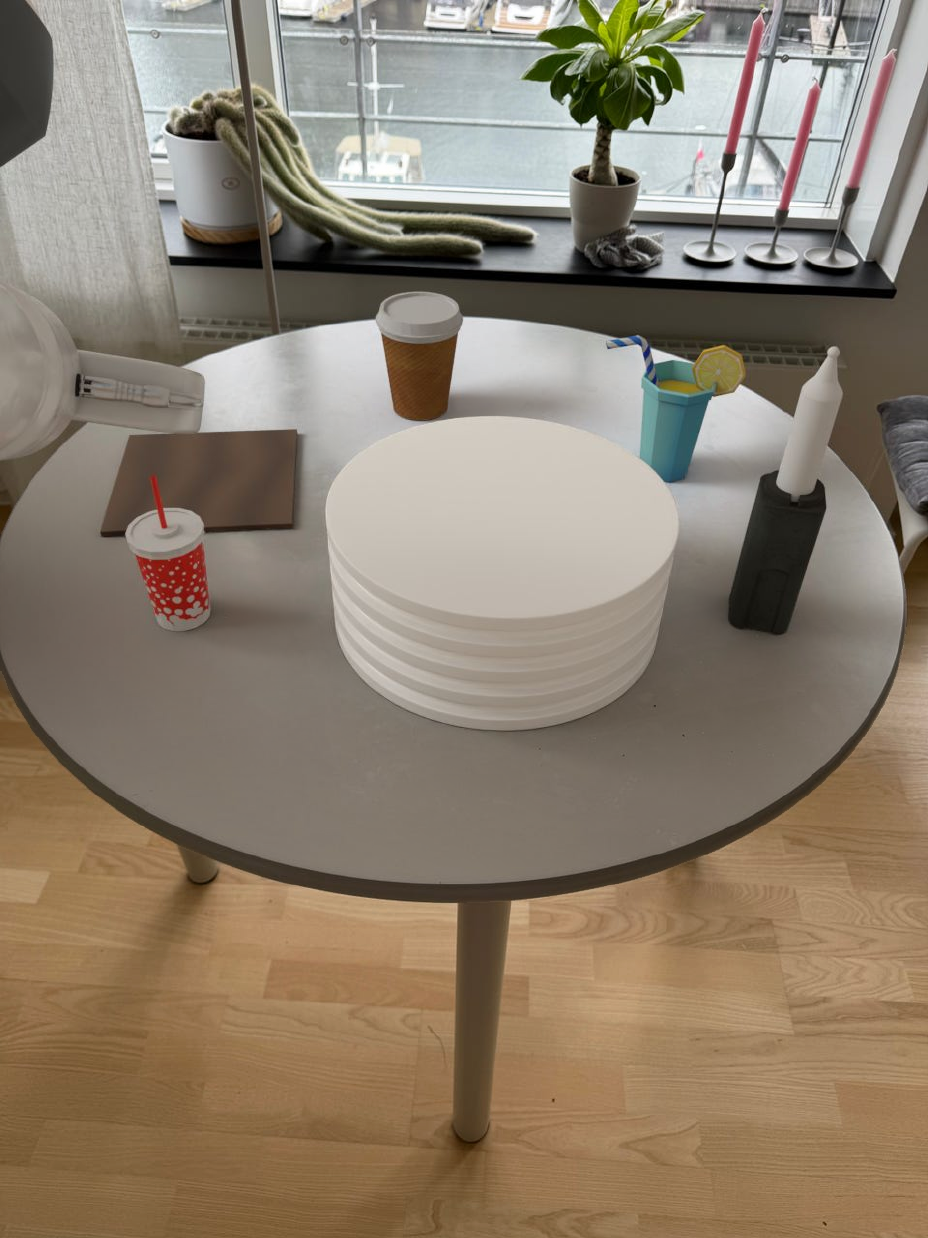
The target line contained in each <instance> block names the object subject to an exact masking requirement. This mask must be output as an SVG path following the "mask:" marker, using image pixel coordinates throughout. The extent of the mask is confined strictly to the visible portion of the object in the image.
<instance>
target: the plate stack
mask: <svg viewBox="0 0 928 1238" xmlns="http://www.w3.org/2000/svg"><path fill="white" fill-rule="evenodd" d="M677 505H678V504H677V503H676V499H675V498H674V495H673V493H672V491H671V490H670V489H669V487H668V485H667V484H666V482H664V481H663V480H662V479H661V477H660V476H659V475H658V474H657V473H656V472H655V471H654V470H653V469H652V468H651V467H650V466H649V465H648V464H646V463H645V462H644V461H643V460H641V459H640V456H637V455H636V454H634V453H633V452H631V451H630V450H629V449H626V448H624V447H623V446H621V445H619V444H617V443H615V442H613V441H611V440H609V439H608V438H605V437H602V436H600V435H597V434H595V433H592V432H589V431H587V430H584V429H580V428H578V427H573V426H571V425H567V424H562V423H558V422H553V421H548V420H543V419H536V418H529V417H518V416H503V415H482V416H481V415H480V416H465V417H464V416H463V417H455V418H448V419H441V420H436V421H431V422H428V423H423V424H420V425H416V426H411V427H409V428H406V429H403V430H400V431H398V432H395V433H393V434H391V435H388V436H386V437H384V438H382V439H380V440H377V441H376V442H374V443H372V444H371V445H369V446H368V447H366V448H364V449H363V450H361V451H360V452H359V453H358V454H356V455H355V456H354V457H353V458H352V459H351V460H349V461H348V462H347V463H346V464H345V466H343V468H342V469H341V470H340V471H339V472H338V474H337V475H336V477H335V479H334V480H333V482H332V484H331V486H330V488H329V491H328V494H327V497H326V501H325V511H324V512H325V514H324V515H325V523H326V524H325V525H326V533H327V534H326V535H327V549H328V558H329V571H330V572H329V573H330V580H331V594H332V603H333V609H334V610H333V614H334V615H333V616H334V627H335V634H336V638H337V641H338V644H339V647H340V649H341V651H342V654H343V655H344V657H345V659H346V660H347V662H348V664H349V666H351V668H352V670H354V672H355V673H356V674H357V675H358V676H359V677H360V678H361V680H362V681H363V682H364V683H366V684H367V685H368V686H369V687H370V688H372V690H374V691H375V692H377V694H379V695H381V696H382V697H383V698H385V699H387V700H388V701H389V702H391V703H393V704H394V705H396V706H398V707H400V708H401V709H404V710H406V711H408V712H410V713H413V714H415V715H418V716H420V717H424V718H426V719H428V720H432V721H435V722H437V723H441V724H446V725H450V726H456V727H459V728H466V729H473V730H481V731H482V730H483V731H497V732H498V731H503V732H507V731H526V730H534V729H542V728H549V727H554V726H557V725H561V724H564V723H565V724H566V723H568V722H572V721H575V720H578V719H580V718H583V717H586V716H587V715H591V714H592V713H595V712H597V711H600V710H601V709H603V708H605V707H606V706H608V705H610V704H611V703H613V702H615V701H616V700H617V699H618V698H620V697H621V696H623V695H624V694H626V693H627V691H629V690H630V689H631V688H632V687H633V686H634V685H635V684H636V683H637V681H638V680H639V679H640V678H641V677H642V675H643V674H644V673H645V671H646V670H647V668H648V666H649V665H650V663H651V660H652V658H653V655H654V653H655V650H656V646H657V642H658V638H659V633H660V626H661V622H662V618H663V613H664V607H665V606H664V605H665V603H666V598H667V593H668V588H669V584H670V583H669V582H670V578H671V573H672V570H673V569H672V568H673V564H674V557H675V553H676V549H677V544H678V539H679V535H680V527H681V526H680V514H679V509H678V506H677Z"/></svg>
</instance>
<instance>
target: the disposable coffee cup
mask: <svg viewBox="0 0 928 1238" xmlns="http://www.w3.org/2000/svg"><path fill="white" fill-rule="evenodd" d="M378 309H379V310H378V312H377V313H376V315H375V324H376V326H377V327H378V331H379V332H380V335H381V341H382V347H383V353H384V360H385V366H386V372H387V377H388V383H389V389H390V395H391V396H390V397H391V401H392V408H393V411H394V413H396V414H397V415H398V416H400V417H402V418H404V419H407V420H412V421H430V420H434V419H436V418H439V417H441V416H443V415H444V414H445V413H446V412H447V410H448V407H449V406H448V405H449V398H450V393H451V392H450V391H451V384H452V379H453V373H454V372H453V370H454V364H455V358H456V351H457V344H458V337H459V336H458V335H459V332H460V330H461V327H462V326H463V323H464V316H463V314H462V313H461V312H460V306H459V304H458V302H457V301H456V300H455V299H453V298H451V297H449V296H448V295H444V294H442V293H437V292H431V291H407V292H400V293H396V294H393V295H390V296H389V297H387V298H385V299H384V300H383V301H381V303H380V305H379V308H378Z"/></svg>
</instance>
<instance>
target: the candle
mask: <svg viewBox="0 0 928 1238" xmlns="http://www.w3.org/2000/svg"><path fill="white" fill-rule="evenodd" d="M840 354H841V351H840V349H839V347H838V346H834V345H833V346H831V347H830V348H828V350H827V356H826V358H825V359H824V361H823V362H822V364H821V366H820V367H819V369H818V370H817V371H816V373H815V374H814V376H812V377H811V378H810V379H808V380H807V381H806V382H805V383H804V384H803V385H802V386H801V390H800V394H799V398H798V400H797V401H798V402H797V404H796V408H795V413H794V416H793V418H792V423H791V426H790V430H789V434H788V438H787V441H786V445H785V448H784V451H783V455H782V459H781V463H780V467H779V469H777V470H774V471H772V472H767V473H764V474H762V475H761V476H760V478H759V482H758V485H757V488H756V489H757V490H756V493H755V497H754V501H753V505H752V509H751V511H750V516H749V518H748V519H749V520H748V523H747V527H746V530H745V534H744V539H743V542H742V547H741V550H740V554H739V558H738V562H737V565H736V568H735V573H734V578H733V580H732V584H731V588H730V592H729V596H728V608H727V620H728V622H729V624H730V625H731V626H732V627H734V628H736V629H739V630H744V629H748V630H753V631H760V632H766V633H771V634H772V635H778V634H779V635H783V634H784V633H787V631H788V629H789V626H790V623H791V619H792V617H793V613H794V611H795V607H796V604H797V601H798V598H799V596H800V592H801V588H802V586H803V582H804V579H805V576H806V573H807V570H808V568H809V564H810V561H811V558H812V555H813V551H814V549H815V546H816V542H817V539H818V536H819V533H820V530H821V527H822V524H823V520H824V517H825V514H826V511H827V507H828V506H827V498H826V487H825V485H824V483H823V482H822V481H821V480H820V479H819V475H820V471H821V467H822V464H823V461H824V457H825V455H826V451H827V447H828V445H829V441H830V438H831V435H832V433H833V428H834V425H835V422H836V419H837V416H838V412H839V409H840V405H841V403H842V399H843V394H844V392H843V389H842V387H841V384H840V382H839V380H838V379H839V378H838V377H839V376H838V357H839V356H840Z"/></svg>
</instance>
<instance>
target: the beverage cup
mask: <svg viewBox="0 0 928 1238" xmlns="http://www.w3.org/2000/svg"><path fill="white" fill-rule="evenodd" d="M150 480H151V484H152V489H153V493H154V497H155V502H156V506H157V510H153V511H149V512H147V513H145V514H143V515H141V516H139V517H137V518H136V519H135V520H134V521H132V522H131V523H130V524H129V525H128V528H127V530H126V533H125V535H124V536H125V538H126V541H127V544H128V547H129V550H130V551H131V552H132V553H133V554H134V555H135V558H136V562H137V565H138V567H139V571H140V574H141V576H142V579H143V582H144V585H145V588H146V591H147V594H148V597H149V600H150V604H151V606H152V609H153V613H154V615H155V618H156V621H157V624H158V625H159V626H160V627H162V628H163V629H164V630H167V631H172V632H186V631H190V630H193V629H197V628H198V627H200V626H202V625H203V624H205V622H207V620H208V618H210V617H211V616H210V615H211V611H212V609H211V598H210V592H209V582H208V573H207V566H206V565H207V564H206V556H205V549H204V538H205V534H206V532H204V524H203V522H202V520H201V517H200V516H198V515H197V514H195V513H194V512H192V511H190V510H186V509H181V508H163V505H162V500H161V496H160V491H159V487H158V482H157V478H156V475H155V474H151V475H150Z"/></svg>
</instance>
